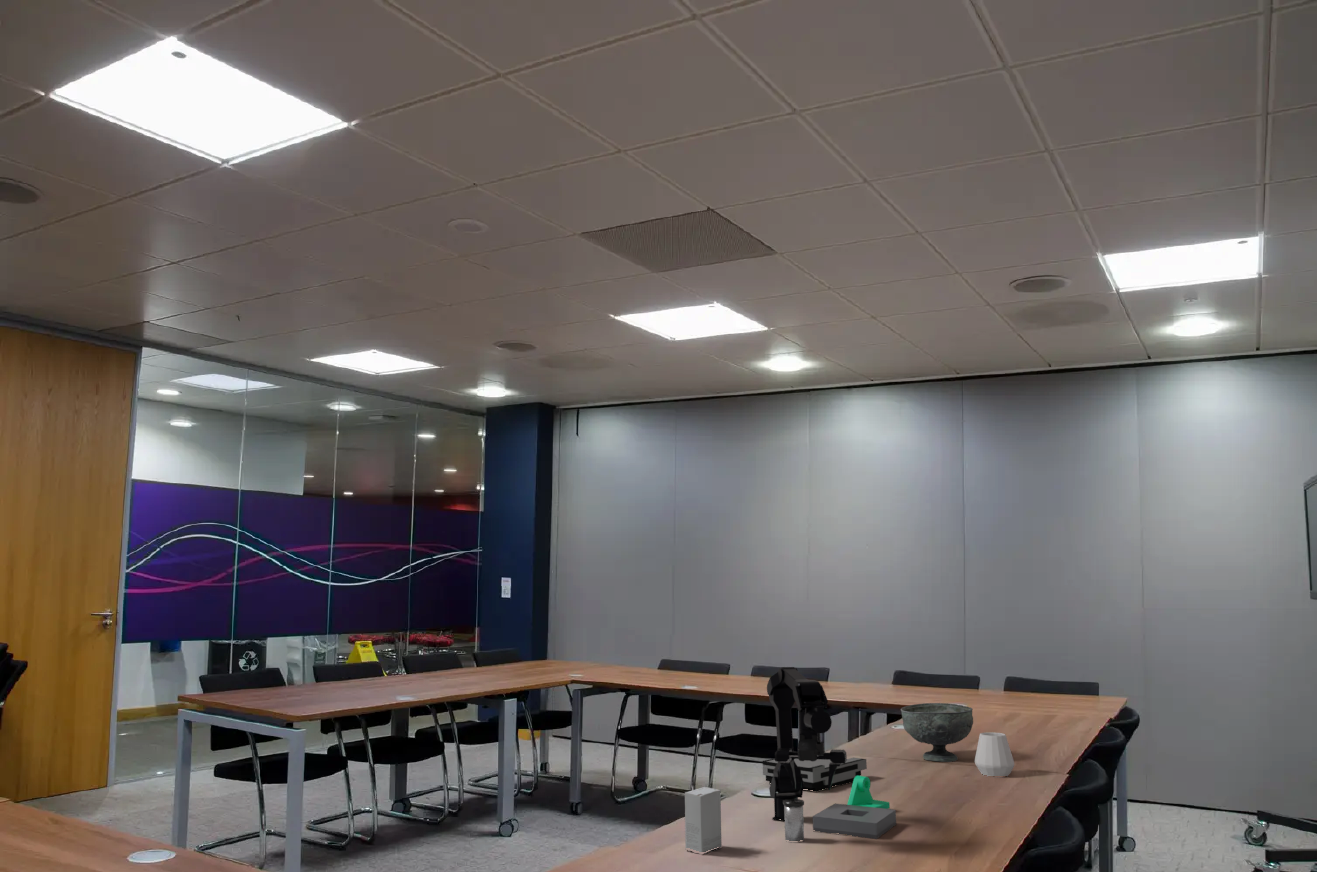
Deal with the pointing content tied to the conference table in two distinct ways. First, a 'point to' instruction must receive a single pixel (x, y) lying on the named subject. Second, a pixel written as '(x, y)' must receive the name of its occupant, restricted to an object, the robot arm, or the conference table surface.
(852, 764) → the game console
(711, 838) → the skincare box
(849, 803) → the camera mount
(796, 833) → the tube
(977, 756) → the white faceted vase
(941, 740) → the decorative bowl
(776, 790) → the robot arm
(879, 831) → the mount block
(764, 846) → the conference table surface
